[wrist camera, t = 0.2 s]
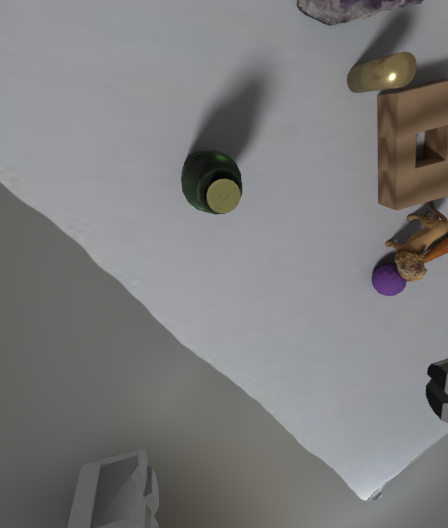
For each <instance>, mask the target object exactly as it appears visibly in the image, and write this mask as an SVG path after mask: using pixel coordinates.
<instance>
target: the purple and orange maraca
mask: <svg viewBox="0 0 448 528" xmlns="http://www.w3.org/2000/svg"><path fill="white" fill-rule="evenodd" d="M446 253H448V237H447V238H445V239H444V240H443V241H441V242H440V243H439V244H438V245H436V246H435V247H434V248H432V249H431V250H430V251H428V252H427V253H426V254H424V258H425V262H424V263H426V262H428V261H431V260H433V259H435V258H437V257H439V256H442V255H444V254H446ZM406 281H409V280H407V279H405V278H403V277H402V276H401V275H400V273H399V272H398V270H397V264H395V266H394V265H383V266H381V267H380V268H378V269H377V270H376V271H375V272H374V274H373V276H372V284H373V286H374V288H375V289H376V290H377V291H378V292H379V293H380V294H383V295H386V296H393V295H396V294H398V293H400V292H401V291H403V289H404V288H405V286H406Z"/></svg>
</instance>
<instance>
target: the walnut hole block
mask: <svg viewBox="0 0 448 528" xmlns="http://www.w3.org/2000/svg"><path fill="white" fill-rule="evenodd" d="M377 103H378V204H381V205H383V206H386V207H389V208H391V209H394V210H399V209H403V208H407V207H410V206H414V205H418V204H421V203H425V202H429V201H432V200H436V199H440V198H443V197H447V196H448V79H443V80H439V81H435V82H430V83H426V84H422V85H418V86H414V87H410V88H406V89H402V90H397V91H393V92H389V93H385V94H381V95H377ZM422 131H425V144H424V157H423V158H419V159H416V136H417V133H419V132H422Z"/></svg>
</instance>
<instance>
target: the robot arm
mask: <svg viewBox="0 0 448 528" xmlns="http://www.w3.org/2000/svg"><path fill="white" fill-rule="evenodd" d="M427 375H428V376H429V377H430V378H431V380H430V381H429V382H428V384H427V385H426V397H427V400H428V403H429V405H430V407H431V408H432V410H433V411H434V413H435V414H436V415H437V416H438V417H439V418H440V419H441V420H442V421H445V422H447V423H448V359H445V360H441V361H438V362H435V363H432V364H430V366H429V367H428V371H427ZM158 507H159V494H158V486H157V480H156V477H155V474H154V471H153V469H152V468H151V467H149V466H147V456H146V454H145V452H144V450H143V449H142V450H139V451H135V452H131V453H127V454H123V455H120V456H116V457H112V458H108V459H105V460H101V461H97V462H94V463H90V464H87V465H84V466H83V468H82V470H81V472H80V475H79V479H78V483H77V488H76V493H75V497H74V501H73V506H72V510H71V514H70V519H69V523H68V528H159V526H158V524H157V522H156V520H155V518H154V515H155V513H156V511H157V509H158Z"/></svg>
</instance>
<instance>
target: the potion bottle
mask: <svg viewBox="0 0 448 528" xmlns="http://www.w3.org/2000/svg"><path fill="white" fill-rule="evenodd" d="M181 182H182V191H183V193H184V195H185V197H186V199H187V201H188V202H189V203H190V204H191V205H192V206H194V207H195V208H196V209H197V210H201V211H204V212H208V213H212V214H225V213H228V212H230V211H232V210H234V209H235V208H236V206H237V205H238V204H239V201H240V198H241V195H242V182H241V173H240V171H239V169H238V166H237V164H236V163H235V162H234V161H233V160H232V159H231V158H230V157H229V156H228V155H226V154H223V153H220V152H218V151H199V152H196V153H194V154H192V155H190V156H189V157H188V159H187V160H186V161H185V163H184V166H183V170H182V177H181Z"/></svg>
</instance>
